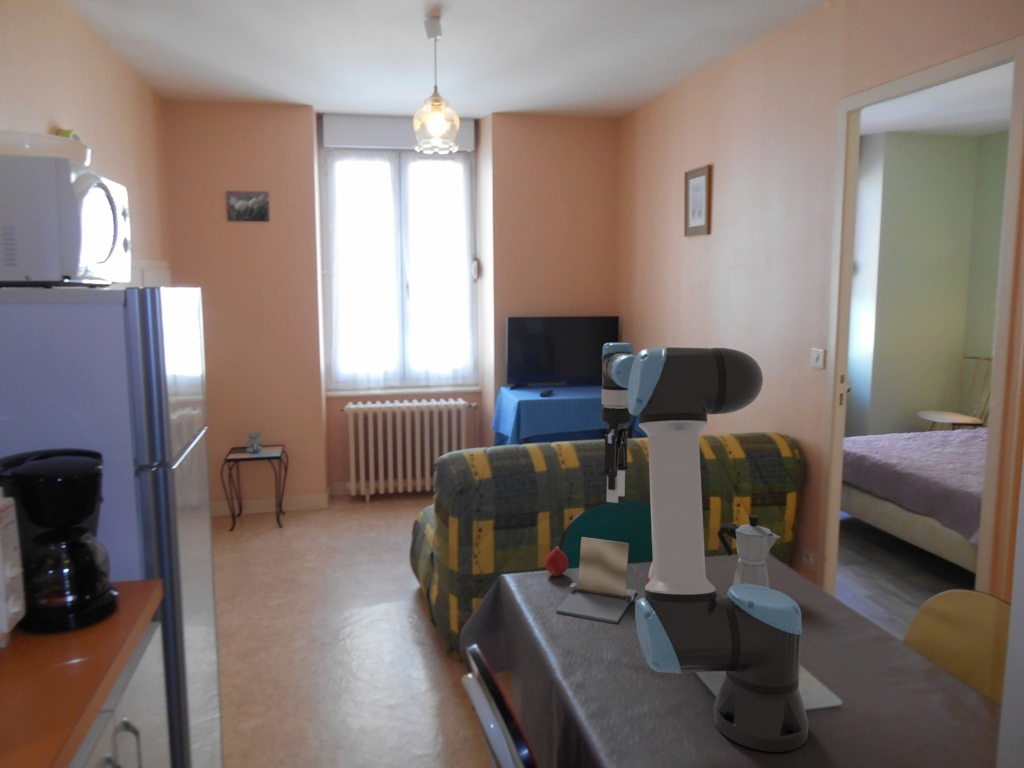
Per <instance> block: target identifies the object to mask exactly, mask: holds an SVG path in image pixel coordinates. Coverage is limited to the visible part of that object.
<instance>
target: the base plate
mask: <svg viewBox="0 0 1024 768" xmlns="http://www.w3.org/2000/svg"><path fill="white" fill-rule="evenodd" d="M577 587H578V584H577ZM628 592H634V597H635V596H636V595H637V590H636V589H630V588H626V595H627V594H628ZM630 604H631V602H627V601H626V599H622V598H616V597H610V596H604V595H598V594H591V593H585V592H579V591H577V590H576V591H575V592H574V593H572V592H569V594H568V595H567V597H566V598H565V599H564V600H563V601H562V603H561V604H560V605H559V606H558V607H557V608H556V610H555V613H556V614H561V615H566V616H567V615H568V616H571V617H579V618H585V619H590V620H596V621H601V622H607V623H612V624H613V623H614V624H618V623H619V621H620V620H621V618H622V617H623V615H624V614H625V612H626V611H627V609H628V607H629V606H630Z"/></svg>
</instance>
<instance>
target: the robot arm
mask: <svg viewBox="0 0 1024 768" xmlns="http://www.w3.org/2000/svg"><path fill="white" fill-rule="evenodd" d="M601 362H602V365H601V368H602V372H601V373H602V375H601V377H602V379H601V380H602V382H601V383H602V385H601V404H602V405H603V406H602V407H601V421H602V423H605V424H607V423H608V429H607V430H606V434H604V471H603V474H602V475H603V477H606V503H612V504H613V503H614V504H618V503H619V497H625V495H626V493H625V492H626V491H625V489H626V483H625V482H626V471H628V470H629V469H630V468H629V466H627V465H628V464H629V463H628V436H629V435H628V433H629V427H628V426H626V425H627V424H630V423H632V422H633V416H634V417H637V416H638V417H637V419H638V427H639V428H640V429H641V431H644V433H645V434H646V436H647V446H648V449H647V450H648V470H649V471H648V472H649V473H648V475H649V495H650V519H651V520H650V521H651V522H650V523H651V525H650V526H651V546H652V547H651V548H652V550H651V551H652V552H651V553H652V561H653V578H652V580H651V581H650V582H647V584H646V585H645V586H644V597H640V598H639V599H637V600H636V601H635V603H634V608H635V611H634V616H635V625H636V632H637V636H638V637H637V638H638V641H639V644H640V648H641V651H642V654H643V657H644V660H645V661H646V663H647V664H648V666H649V668H651V669H652V670H654V671H655V672H657V673H669V674H670V673H674V674H677V675H680V674H682V673H707V672H708V673H712V672H713V673H715V672H716V673H717V672H725V676H724V678H723V681H722V683H721V686H720V688H719V690H718V692H717V693H718V694H717V696H716V698H715V701H714V705H713V723H714V724H715V726H716V728H717V730H719V732H720V733H721V734H722V735H723V736H725V737H727V739H729V740H731V741H733V742H734V743H736V744H739V745H740V746H743V747H746V748H749V749H753V750H757V751H763V752H771V753H780V752H789V751H792V750H795V749H798V748H800V747H802V746H803V745H804V744H805V743H806V742H807V740H808V738H809V737H808V736H809V719H808V715H807V712H806V708H805V705H804V702H803V701H804V700H803V698H802V694H801V692H800V688H799V685H800V684H799V683H800V681H799V680H800V663H801V646H802V634H803V626H802V625H803V624H802V610H801V608H800V606H799V604H798V603H797V601H795V600H794V599H793V598H791V597H790V595H787V594H786V593H784V592H781V591H779V590H776V589H773V588H768V587H764V586H760V585H754V584H736V585H733V584H732V585H730V587H729V589H728V591H727V593H726V595H727V597H725V596H724V597H717V590H716V586H714V585H713V584H712V582H710V581H709V579H708V578H707V574H706V560H705V559H706V558H705V540H704V536H705V535H704V516H703V515H704V514H703V497H702V496H703V495H702V477H701V457H700V456H701V455H700V454H701V453H700V438H699V437H700V433H701V432H702V431H703V430H704V429H705V428H706V427H707V425H708V415H723V414H724V415H726V414H730V413H735V412H737V411H739V410H740V411H741V410H742V409H745V408H746V407H748V406H749V405H751V404H752V403H753V402H755V401H756V399H757V397H758V396H759V394H760V393H761V391H762V389H763V388H762V387H763V382H764V377H763V372H762V369H761V366H760V365H759V363H758V362H757V360H755V358H753V357H752V356H750V355H749V354H747V353H745V352H743V351H740V350H737V349H733V348H727V347H674V346H671V347H669V346H667V347H666V346H663V347H655V348H645V349H642V350H641V351H640V350H639V352H638V353H635V350H634V344H632V343H631V342H606V343H604V344H603V346H602V355H601Z"/></svg>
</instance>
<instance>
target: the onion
mask: <svg viewBox="0 0 1024 768" xmlns="http://www.w3.org/2000/svg"><path fill="white" fill-rule="evenodd" d="M544 562H545V568H546V570H547V572H549V573H550V575H552V576H553V577H556V578H559V577H560V576H562V575H564V573H565V572H566V571H567V570H568V567H569V559H568V556H567V555H566V554H565V553H564V551H562V550H561V549H560V547H559V546H556V547H554V549H553V550H551V551H549V553H548V554H547V556H546V557H545V561H544Z"/></svg>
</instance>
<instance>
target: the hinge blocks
mask: <svg viewBox="0 0 1024 768" xmlns="http://www.w3.org/2000/svg"><path fill="white" fill-rule="evenodd" d="M577 585H578V582H577V583H575V582H571V584H570V585H569V587H568V588H569V589H568V591H569V593H571V592H572V593H574V592H575V591H576V590H577ZM634 598H635V596H634V592H628V594H627V595H626V601H627V602H630V603H632V602H633V600H634Z"/></svg>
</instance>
